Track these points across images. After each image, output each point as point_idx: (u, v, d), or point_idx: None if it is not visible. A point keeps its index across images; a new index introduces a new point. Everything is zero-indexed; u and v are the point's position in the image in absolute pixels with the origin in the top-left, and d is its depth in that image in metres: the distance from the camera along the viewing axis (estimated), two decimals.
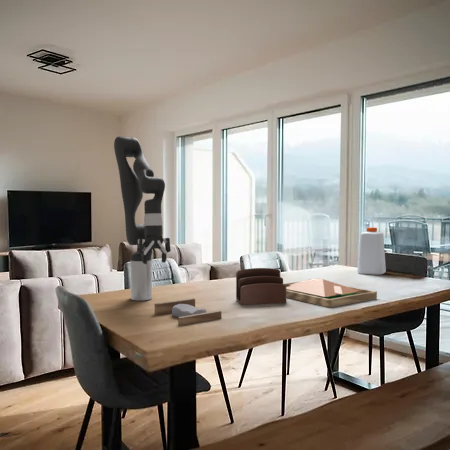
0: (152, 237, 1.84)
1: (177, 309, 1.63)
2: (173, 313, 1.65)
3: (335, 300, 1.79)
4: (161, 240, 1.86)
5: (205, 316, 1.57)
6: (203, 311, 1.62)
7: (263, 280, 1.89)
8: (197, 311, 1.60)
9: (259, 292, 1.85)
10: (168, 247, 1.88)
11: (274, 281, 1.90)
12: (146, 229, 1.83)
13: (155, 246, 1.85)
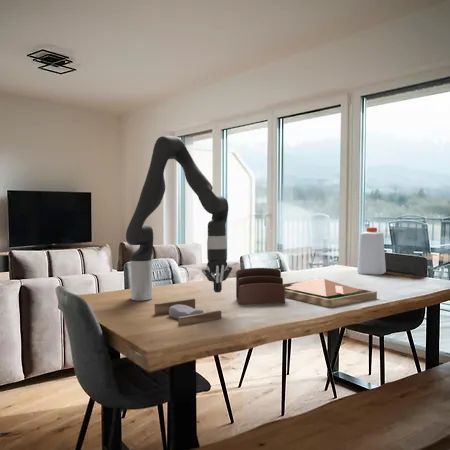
0: (216, 261, 1.70)
1: (174, 310, 1.62)
2: (170, 314, 1.64)
3: (335, 300, 1.79)
4: (225, 264, 1.72)
5: (205, 316, 1.57)
6: (200, 312, 1.61)
7: (262, 280, 1.90)
8: (194, 312, 1.59)
9: (257, 292, 1.85)
10: (225, 275, 1.72)
11: (273, 281, 1.90)
12: (210, 253, 1.68)
13: (219, 271, 1.71)
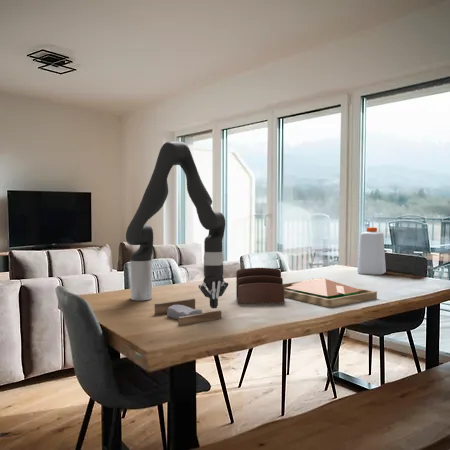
0: (212, 277, 1.69)
1: (172, 310, 1.62)
2: (168, 314, 1.63)
3: (335, 300, 1.79)
4: (221, 280, 1.72)
5: (205, 316, 1.57)
6: (199, 312, 1.61)
7: (262, 280, 1.90)
8: (193, 312, 1.59)
9: (257, 291, 1.86)
10: (222, 291, 1.72)
11: (273, 281, 1.91)
12: (206, 269, 1.68)
13: (215, 287, 1.70)
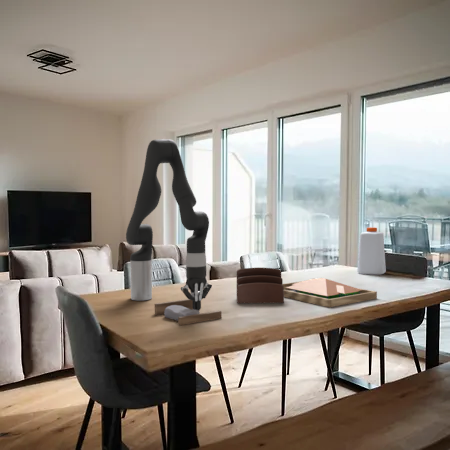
0: (195, 279, 1.65)
1: (170, 310, 1.61)
2: (166, 314, 1.62)
3: (335, 300, 1.79)
4: (204, 282, 1.67)
5: (205, 316, 1.57)
6: (196, 312, 1.60)
7: (262, 279, 1.91)
8: (190, 312, 1.58)
9: (256, 291, 1.86)
10: (205, 293, 1.67)
11: (273, 281, 1.91)
12: (189, 271, 1.63)
13: (198, 289, 1.66)
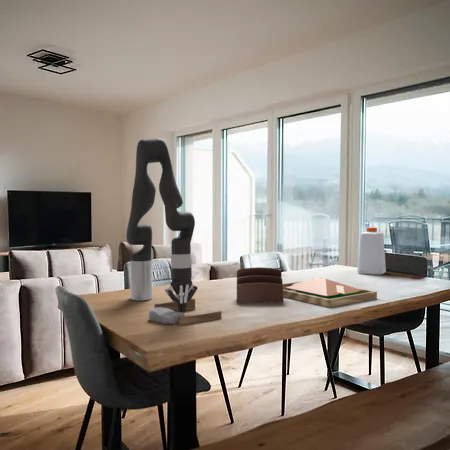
0: (180, 281, 1.61)
1: (154, 313, 1.57)
2: (150, 317, 1.59)
3: (335, 300, 1.79)
4: (190, 284, 1.63)
5: (205, 316, 1.57)
6: (181, 315, 1.56)
7: (262, 279, 1.91)
8: (175, 315, 1.54)
9: (255, 291, 1.87)
10: (190, 295, 1.64)
11: (273, 281, 1.91)
12: (173, 272, 1.60)
13: (183, 291, 1.62)
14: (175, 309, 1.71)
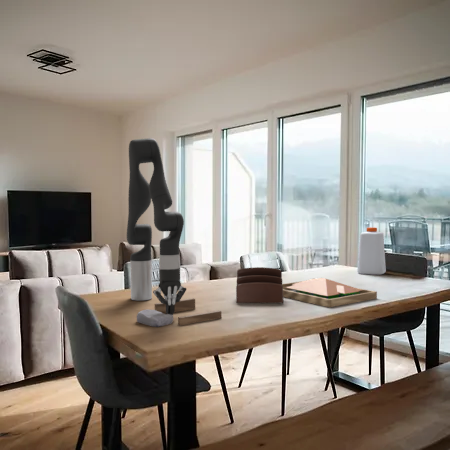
0: (168, 282, 1.58)
1: (142, 315, 1.54)
2: (138, 319, 1.55)
3: (335, 300, 1.79)
4: (178, 285, 1.61)
5: (205, 316, 1.57)
6: (170, 317, 1.53)
7: (261, 279, 1.91)
8: (163, 317, 1.51)
9: (255, 291, 1.87)
10: (179, 297, 1.61)
11: (273, 281, 1.91)
12: (161, 273, 1.57)
13: (171, 292, 1.59)
14: (175, 309, 1.71)
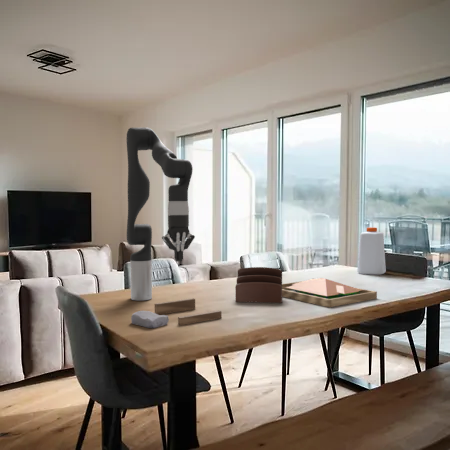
0: (177, 228, 1.60)
1: (137, 317, 1.52)
2: (133, 321, 1.54)
3: (335, 300, 1.79)
4: (187, 232, 1.62)
5: (205, 316, 1.57)
6: (165, 318, 1.52)
7: (261, 279, 1.92)
8: (158, 318, 1.50)
9: (254, 291, 1.88)
10: (187, 244, 1.62)
11: (272, 281, 1.91)
12: (170, 219, 1.58)
13: (180, 239, 1.61)
14: (175, 309, 1.71)
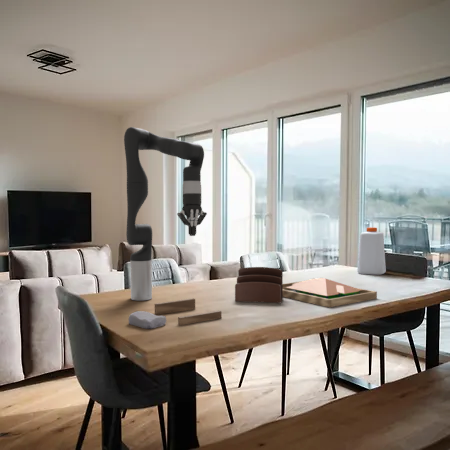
0: (191, 206, 1.77)
1: (134, 317, 1.51)
2: (130, 321, 1.53)
3: (335, 300, 1.79)
4: (199, 209, 1.79)
5: (205, 316, 1.57)
6: (163, 319, 1.51)
7: (261, 279, 1.92)
8: (156, 319, 1.49)
9: (253, 290, 1.89)
10: (200, 220, 1.79)
11: (272, 280, 1.91)
12: (185, 197, 1.75)
13: (193, 215, 1.78)
14: (175, 309, 1.71)
